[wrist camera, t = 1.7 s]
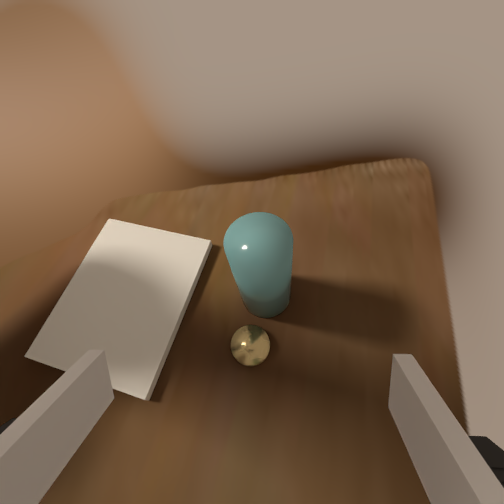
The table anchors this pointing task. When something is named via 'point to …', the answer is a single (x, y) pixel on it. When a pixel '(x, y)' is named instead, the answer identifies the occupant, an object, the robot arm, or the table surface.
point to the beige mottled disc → (250, 345)
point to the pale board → (125, 304)
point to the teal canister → (261, 262)
